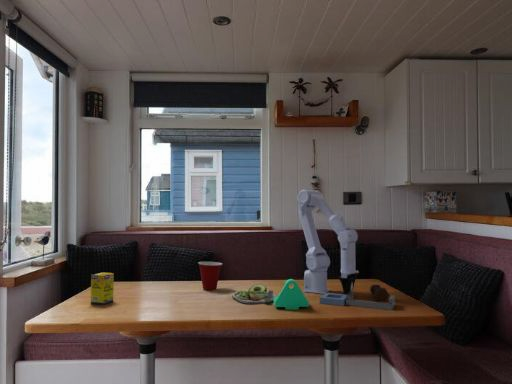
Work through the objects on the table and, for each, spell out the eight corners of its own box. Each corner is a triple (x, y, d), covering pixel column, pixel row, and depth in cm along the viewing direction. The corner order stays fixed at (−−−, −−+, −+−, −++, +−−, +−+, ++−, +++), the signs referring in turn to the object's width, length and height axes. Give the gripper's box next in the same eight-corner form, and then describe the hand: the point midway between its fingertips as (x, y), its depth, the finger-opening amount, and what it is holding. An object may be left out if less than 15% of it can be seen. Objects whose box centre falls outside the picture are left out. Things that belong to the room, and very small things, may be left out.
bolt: (375, 297, 164) (384, 305, 149) (365, 291, 165) (372, 298, 150) (382, 285, 164) (391, 292, 149) (371, 279, 165) (379, 285, 150)
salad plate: (287, 304, 146) (287, 291, 146) (242, 308, 140) (242, 295, 141) (269, 293, 164) (269, 282, 165) (228, 296, 159) (228, 285, 159)
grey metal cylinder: (343, 297, 155) (343, 282, 155) (345, 296, 158) (345, 281, 158) (351, 298, 153) (351, 283, 154) (353, 296, 157) (353, 281, 157)
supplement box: (103, 305, 144) (103, 275, 144) (90, 304, 145) (90, 274, 146) (113, 301, 149) (114, 272, 150) (100, 300, 151) (101, 272, 151)
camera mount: (305, 304, 146) (305, 276, 146) (308, 309, 138) (308, 280, 138) (273, 304, 145) (273, 276, 146) (275, 310, 138) (275, 280, 138)
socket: (319, 303, 146) (319, 297, 146) (326, 298, 154) (326, 292, 154) (343, 306, 142) (343, 300, 142) (349, 300, 150) (349, 294, 150)
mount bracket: (345, 304, 144) (345, 295, 144) (350, 300, 151) (350, 291, 151) (392, 310, 136) (392, 300, 137) (394, 304, 144) (394, 295, 144)
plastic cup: (227, 290, 169) (227, 262, 170) (204, 293, 163) (205, 264, 164) (215, 285, 178) (215, 259, 179) (193, 288, 172) (193, 261, 173)
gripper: (354, 262, 148) (354, 298, 148) (361, 257, 161) (362, 290, 161) (336, 261, 151) (336, 296, 151) (344, 256, 164) (345, 289, 164)
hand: (348, 293), depth 156 cm, fingers open, 5 cm apart
